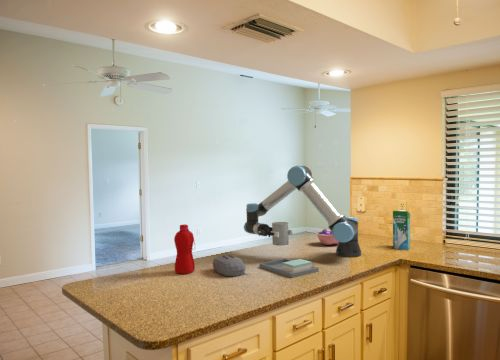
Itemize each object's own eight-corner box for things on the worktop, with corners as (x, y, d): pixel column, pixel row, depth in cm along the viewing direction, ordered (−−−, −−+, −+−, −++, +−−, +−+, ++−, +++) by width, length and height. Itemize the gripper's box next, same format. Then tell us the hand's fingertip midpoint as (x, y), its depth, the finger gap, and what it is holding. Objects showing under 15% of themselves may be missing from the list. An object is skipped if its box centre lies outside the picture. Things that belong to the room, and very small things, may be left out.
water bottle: (191, 275, 192) (190, 226, 192) (172, 273, 196) (171, 225, 195) (199, 270, 201) (198, 223, 200) (181, 269, 205) (180, 223, 204)
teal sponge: (282, 272, 191) (282, 262, 191) (300, 268, 198) (300, 258, 198) (293, 276, 184) (293, 265, 184) (312, 271, 192) (311, 261, 191)
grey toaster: (208, 270, 202) (224, 279, 185) (208, 254, 202) (224, 262, 185) (234, 266, 210) (251, 274, 192) (234, 251, 209) (251, 258, 192)
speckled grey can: (277, 246, 215) (277, 224, 215) (269, 243, 224) (268, 222, 224) (291, 244, 220) (291, 223, 220) (283, 241, 228) (282, 221, 228)
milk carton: (410, 247, 251) (410, 209, 250) (407, 249, 243) (407, 211, 243) (395, 246, 256) (395, 209, 255) (393, 248, 248) (392, 210, 247)
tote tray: (259, 269, 203) (259, 263, 202) (285, 263, 213) (284, 258, 213) (291, 279, 181) (291, 273, 181) (318, 273, 192) (318, 267, 192)
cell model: (347, 247, 256) (347, 230, 255) (318, 247, 256) (317, 230, 255) (342, 242, 272) (341, 226, 272) (314, 242, 273) (313, 227, 272)
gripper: (275, 233, 243) (299, 237, 225) (247, 237, 230) (270, 242, 212) (275, 221, 243) (299, 225, 224) (247, 225, 230) (270, 229, 212)
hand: (285, 233), depth 218 cm, fingers closed on speckled grey can, 9 cm apart
